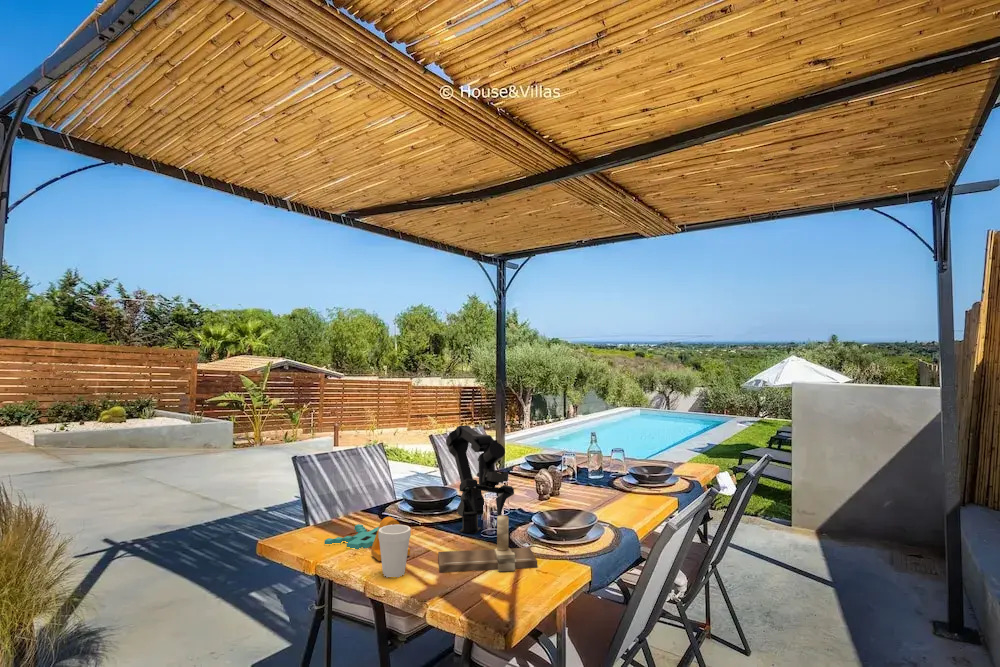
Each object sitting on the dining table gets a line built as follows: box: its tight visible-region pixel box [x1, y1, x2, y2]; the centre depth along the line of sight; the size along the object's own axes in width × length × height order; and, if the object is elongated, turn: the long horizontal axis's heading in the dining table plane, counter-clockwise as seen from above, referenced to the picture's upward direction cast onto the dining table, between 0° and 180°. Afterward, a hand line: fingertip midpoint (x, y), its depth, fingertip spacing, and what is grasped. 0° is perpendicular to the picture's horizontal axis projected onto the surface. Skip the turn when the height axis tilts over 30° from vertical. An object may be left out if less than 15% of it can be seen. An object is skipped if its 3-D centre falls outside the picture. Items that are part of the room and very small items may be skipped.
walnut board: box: [437, 547, 538, 573], centre depth 167 cm, size 30×12×2 cm, turn 98°
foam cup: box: [378, 524, 412, 578], centre depth 159 cm, size 10×9×13 cm
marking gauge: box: [494, 514, 516, 572], centre depth 165 cm, size 5×10×14 cm, turn 8°
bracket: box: [370, 516, 411, 562], centre depth 172 cm, size 11×7×12 cm, turn 122°
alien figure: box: [324, 523, 379, 550], centre depth 189 cm, size 20×2×20 cm
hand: (487, 513), depth 178 cm, fingers open, 9 cm apart
